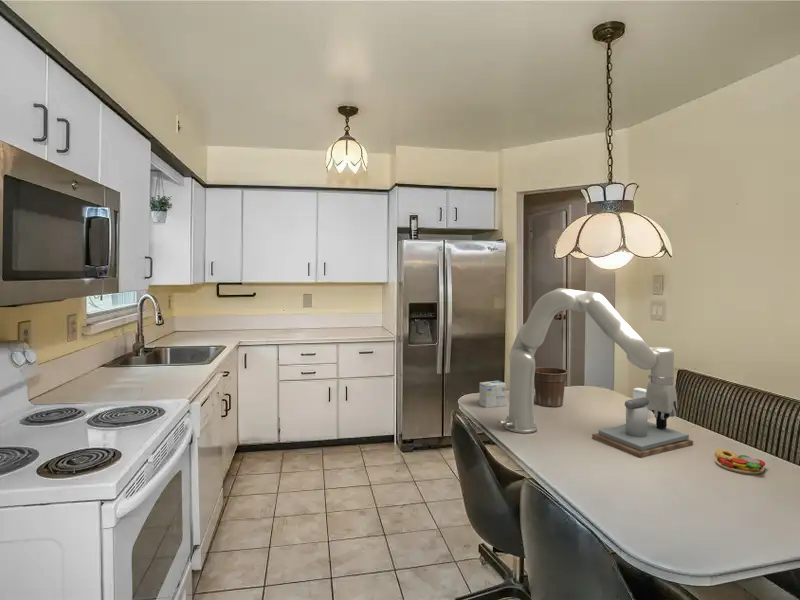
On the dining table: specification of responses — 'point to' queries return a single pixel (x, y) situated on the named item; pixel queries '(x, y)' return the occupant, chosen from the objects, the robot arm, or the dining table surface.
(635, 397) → the skincare box
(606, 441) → the walnut base
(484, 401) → the light bulb box
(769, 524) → the dining table surface
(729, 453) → the toy food set
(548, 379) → the plant pot
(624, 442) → the tilting top
